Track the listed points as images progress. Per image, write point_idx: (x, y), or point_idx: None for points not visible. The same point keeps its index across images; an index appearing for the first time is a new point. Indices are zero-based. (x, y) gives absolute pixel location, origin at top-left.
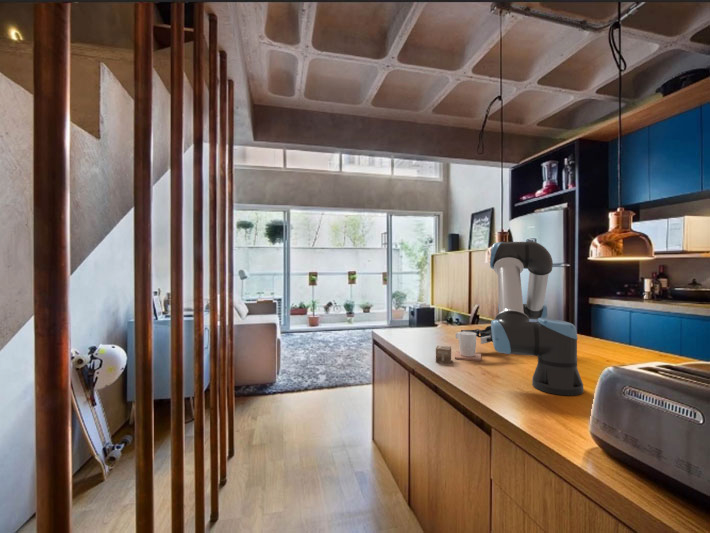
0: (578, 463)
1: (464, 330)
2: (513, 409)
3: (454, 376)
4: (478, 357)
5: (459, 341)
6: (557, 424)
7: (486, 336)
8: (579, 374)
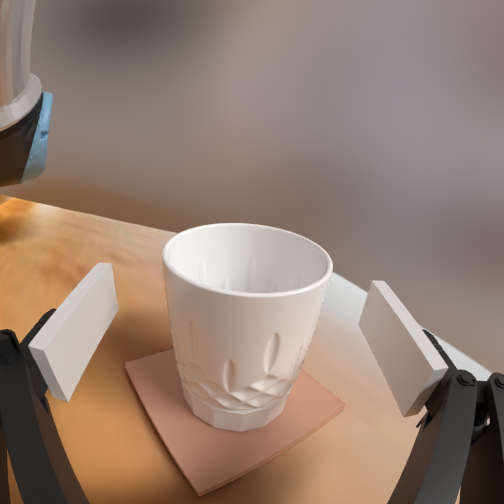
0: (12, 197)
1: (497, 400)
2: (37, 213)
3: (143, 238)
4: (150, 385)
5: (273, 286)
6: (3, 213)
7: (69, 308)
8: None
